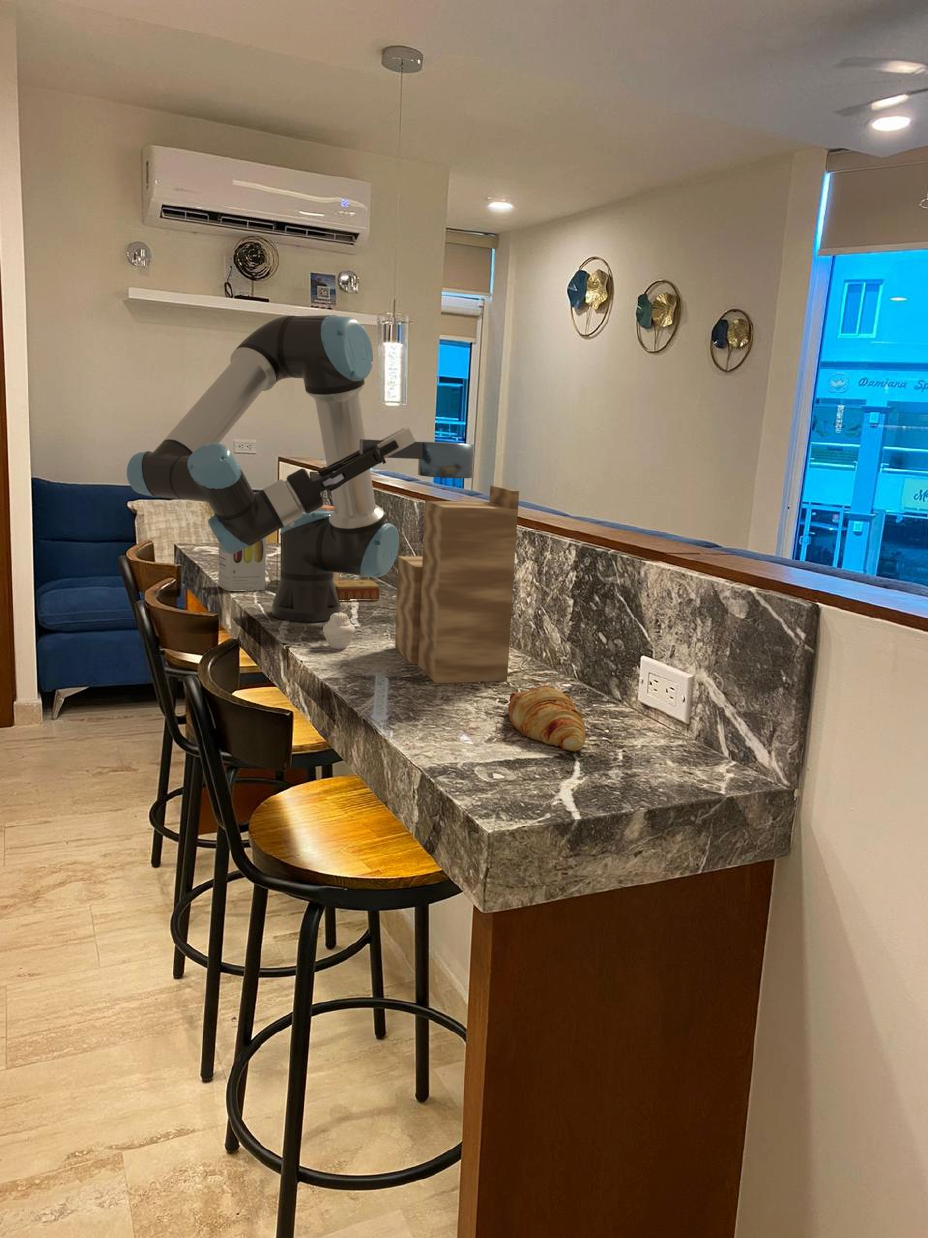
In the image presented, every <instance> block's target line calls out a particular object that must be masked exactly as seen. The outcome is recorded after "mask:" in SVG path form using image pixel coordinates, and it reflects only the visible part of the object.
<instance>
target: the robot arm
mask: <svg viewBox="0 0 928 1238" xmlns="http://www.w3.org/2000/svg"><path fill="white" fill-rule="evenodd" d="M229 359H230V360H229V362H230V364H228V365H227V367H226V368H225V369H224V370H223V371H222V373H221V374H220V375H219V376H218V377H217V378H216V380H215V381H214V382H213V383H212V384H211V385H210V386H209V387H208V389H207V390H205V392H204V393H203V394H202V396H201V397H200V398H199V399H198V400H197V401H196V403H195V404H194V405H193V406H192V407H191V408H190V409H189V411H188V412H187V413H186V414H185V415H184V416H183V418H181V420H180V421H179V422H178V423H177V424H176V426H174V428H172V430H171V431H170V432H169V434H167V436H166V437H165V438H164V439H163V440H162V441H161V443H160V444H159V445H158V446H157V447H156V449H154V451H149V450H146V451H141V452H138V453H135V454H133V456H132V457H130V459H129V461H128V464H127V467H126V478H127V479H126V480H127V482H128V484H129V486H130V487H131V489H132V490H133V491H134V492H136V493H137V494H140V495H143V496H147V497H153V498H156V499H157V498H164V499H165V498H167V499H175V500H186V501H193V502H194V501H196V502H205V503H207V504H208V505H209V506H210V508H211V510H212V511H213V513H214V515H212V516H211V517H209V518H208V521H207V522H208V526H209V528H210V529H211V531H212V534H214V536H215V538H216V539H217V542H218V544H219V543H220V545H221V546H222V548H223V550H224V551H225V552H226V553H228V554H234V553H236V552H239V551H241V550H243V549H245V548H247V547H251V546H252V545H253V544H255V543H257V542H258V541H260V540H262V539H263V538H265V537H266V538H267V537H269V536H270V535H272V534H273V533H275V532H276V531H278V530H280V531H279V535H280V565H279V566H280V574H279V576H280V578H279V579H280V580H279V584H278V586H277V589H276V592H275V595H274V598H273V600H272V602H271V603H272V604H271V615H272V616H273V617H275V618H276V619H281V620H284V619H285V621H291V620H292V622H323V621H329V620H330V616H331V615H332V614H334V613H339V612H340V613H342V611H341V607H342V606H341V601H339V599H338V595H337V592H336V589H335V585H334V580H333V577H334V572H337V573H340V574H345V575H346V574H347V575H353V576H359V577H360V576H361V577H362V578H368V577H370V578H380V577H383V576H385V575H386V574H387V573H388V572H389V571H390V570H391V568H393V567H392V566H393V565H394V562H395V561H396V558H397V555H398V551H399V546H400V545H399V544H400V535H399V531H398V529H397V527H396V526H395V525H394V524H392V523H390V522H386V518H385V511H384V510H383V508H382V507H381V506H379V505H377V503H376V499H375V494H374V493H375V492H374V487H373V480H372V472H371V469H372V468H373V467H375V466H377V465H379V464H383V465H385V464H386V463H387V461H386V458H387V457H389V456H390V455H392V454H394V453H396V452H398V451H400V450H401V449H403V448H405V447H407V446H409V445H411V444H412V443H414V442H417V441H416V439H415V437H414V436H413V434H412V431H411V429H410V428H409V427H407V428H405V427H401V428H400V429H398V430H396V431H393V432H392V433H390V434H389V435H387V436H385V437H383V438H380V440H385V441H383V442H381V443H379V444H377V447H376V446H375V447H374V448H373V449H371V450H369V451H367V452H365V453H363V454H361V455H359V452H360V439H366V434H365V428H364V420H363V413H362V408H361V401H360V400H361V399H360V395H359V394H360V392H361V391H362V389H363V388H364V386H365V384H366V382H365V379H366V378H368V376H369V375H370V373H371V370H372V368H373V364H372V362H373V361H374V350H373V345H372V341H371V337H370V336H369V333H368V332H367V330H366V328H365V327H364V326H363V324H361V323H360V322H359V321H358V320H357V319H355V318H353V317H350V316H341V315H339V314H338V315H335V314H331V315H330V314H323V315H321V314H320V315H284V316H280V317H277V318H274V319H272V320H270V321H268V322H267V323H264V324H262V325H261V326H260V327H259V328H257V329H255V330H254V331H253V332H251V334H249V335H248V336H247V337H246V338H245V339H244V340H243V341H242V342H241V343H239V345H238V346H237V347H236V348H235V349H234V350H233V352H232V353H231V355H230V358H229ZM290 378H292V379H293V378H294V379H303V383H304V388H305V389H304V390H305V392H306V394H307V395H309V397H310V398H313V399H314V401H315V407H316V411H317V419H318V424H319V430H320V434H321V435H320V437H321V441H322V447H323V452H324V457H325V462H326V466H323V467H321V468H319V469H318V470H317V473H318V474H316V475H314V476H312V477H311V475H310V474H309V472H308V471H307V470H306V469H305V468H300V469H298V470H296V471H294V472H292V473H291V474H288V475H287V476H286V478H285V480H284V479H281V478H280V479H279V480H276V481H275V482H273V483H271V484H270V485H267V486H266V487H264V488H262V489H261V490H259V491H257V492H254V491H253V489H252V487H251V485H250V483H249V481H248V479H247V477H246V476H245V473H244V472H243V470H242V468H241V467H242V466H241V465H240V463H239V461H238V460H237V459H236V458H235V456H234V455H233V454H232V452H231V450H230V448H229V447H228V446H226V445H225V444H222V443H220V442H222V440H224V438H225V437H226V435H227V434H228V433H229V432H230V431H231V430H232V428H233V427H234V426H235V425H236V424H237V422H238V421H239V420H240V418H241V417H242V416H243V415H244V414H245V412H246V411H247V410H248V409H249V408H250V406H251V405H252V404H253V403H254V402H255V400H256V399H257V398H258V397H259V396H260V394H261V393H262V392H265V391H269V390H271V389H272V388H273V387H274V385H275V384H276V383H277V382H279V381H281V380H285V379H290ZM275 386H276V385H275ZM387 459H388V458H387ZM325 491H329V492H331V498H332V502H333V503H332V504H333V506H334V511H315V510H316V509H318V508H320V507H322V506H323V505H325V502H324V499H323V496H321V493H322V492H323V493H324V492H325Z"/></svg>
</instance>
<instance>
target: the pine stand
mask: <svg viewBox="0 0 928 1238" xmlns="http://www.w3.org/2000/svg"><path fill="white" fill-rule="evenodd" d="M489 489H490V490H489V499H488V501H486V502H485V501H460V500H459V501H458V500H457V501H456V500H455V501H454V500H449V501H448V500H424V515H423V517H424V519H423V537H422V538H423V541H422V556H421V555H419V556H417V555H416V556H414V555H413V556H411V555H410V556H409V555H408V556H406V555H403V556H402V555H398V557H397V559H398V562H397V564H398V565H397V589H396V613H395V614H396V616H395V617H396V619H395V635H394V636H395V642H394V648H395V649H396V650H397V649H398V650H397V651H398V652H399V653H400V654H401V655H402V656H403V657H404V658H405V660H407V661H408V662H409V663H410V664H411V665H417V666H418V667H419V668H420V669H421V670H422V671H423V672H424V673H425V674H426V675H427V676H428V677H429V678H430V680H432V681H433V682H434V683H435V684H448V683H449V684H450V683H475V682H476V683H478V682H479V681H480V682H481V681H482V682H483V681H484V682H505V681H508V676H509V675H508V674H509V660H510V659H509V656H510V644H511V643H510V641H511V626H512V622H511V621H512V610H513V609H512V608H513V607H512V606H513V594H514V592H513V591H514V581H515V579H514V578H515V577H514V576H515V566H516V565H515V563H516V562H515V561H516V545H517V531H518V530H517V529H518V528H517V527H518V514H519V502H520V500H519V499H520V491H519V490H517V489H512V488H507V487H502V486H500V485H499V486H498V485H490V488H489ZM480 682H479V683H480Z"/></svg>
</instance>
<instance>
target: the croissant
mask: <svg viewBox="0 0 928 1238" xmlns="http://www.w3.org/2000/svg"><path fill="white" fill-rule="evenodd" d="M507 709H508V715H509V720H510V723H511V725H512V726H513V727H514V728H515V729H517V730H518V731H519V732H520V733H521V734H522V735H523V736H525V737H526V738H529V739H532V740H535V741H538V742H542V743H544V744H547V745H551V746H555V747H561V749H563V750H564V751H565V750H566V751H570V752H572V751H573V752H575V751H579V750H581V749H582V748H583V747H585V743H586V725H585V722H584V720H583V717H582V714H581V713H580V712H579V711H578V710H577V709H576V706H575V704H574V703H573V700H572V698H571V697H570V696H568V695H567V694H566V693H564V692H562V691H560V690H558V689H556V688H552V687H550V686H549V685H543V686H538V687H535V688H532V689H529V690H528V691H527V690H526V691H519V692H511V694H510V695H509V703H508V707H507Z"/></svg>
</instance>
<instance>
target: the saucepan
mask: <svg viewBox="0 0 928 1238" xmlns="http://www.w3.org/2000/svg"><path fill="white" fill-rule="evenodd" d="M383 441H385V440H381V439H370V438H365V439H360V452H359V455H361V454H363V453H365V452H367V451H369V450H371V449H373V448H374V447H375V446H376V447H377V444H379V443H381V442H383ZM474 447H475V445H474V444H473V443H459V442H443V441H416V442H414V443H412V444H411V445H409V446H407V447H405V448H403V449H401V450H400V451H398V452H396V453H394V454H392V455H390V456H389V457H387V459H389V458H390V459H406V460H407V459H410V460H413V459H414V460H418V462H417V463H418V464H417V465H418V466H417V467H418V468H417V476H419V477H420V476H421V477H429V478H441V479H472V478H473V465H474Z"/></svg>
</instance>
